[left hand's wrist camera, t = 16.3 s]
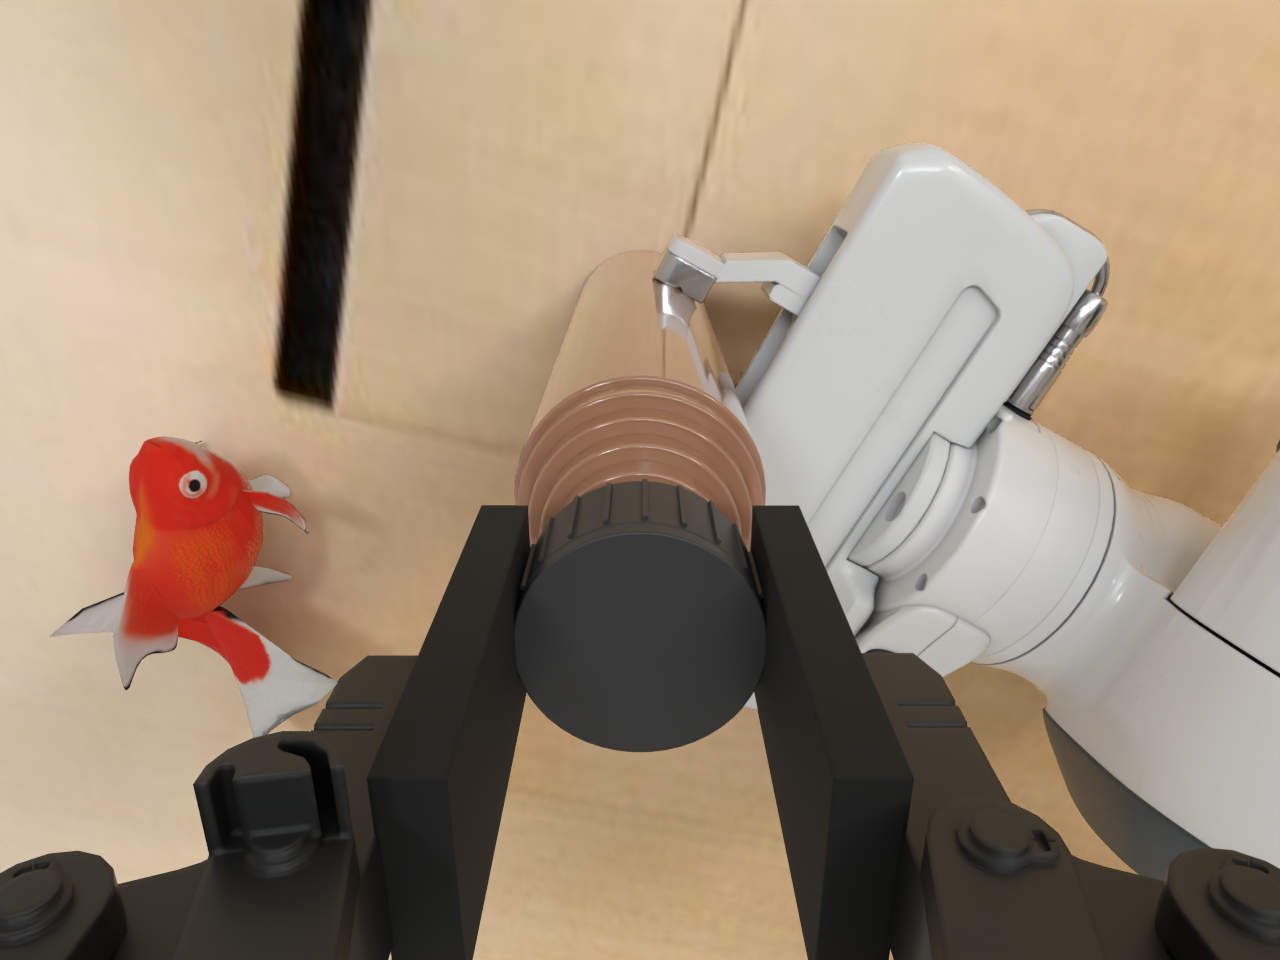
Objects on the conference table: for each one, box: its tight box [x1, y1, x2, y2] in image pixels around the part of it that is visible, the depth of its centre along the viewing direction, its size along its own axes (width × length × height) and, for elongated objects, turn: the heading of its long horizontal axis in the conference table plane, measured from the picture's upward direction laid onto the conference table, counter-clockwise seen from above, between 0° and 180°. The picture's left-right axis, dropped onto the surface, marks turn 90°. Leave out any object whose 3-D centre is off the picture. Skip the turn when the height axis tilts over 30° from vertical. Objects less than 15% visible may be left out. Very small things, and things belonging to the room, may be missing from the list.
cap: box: [514, 479, 766, 752], centre depth 14 cm, size 4×4×2 cm
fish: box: [50, 437, 338, 737], centre depth 37 cm, size 11×16×10 cm
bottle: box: [514, 251, 766, 552], centre depth 25 cm, size 5×5×25 cm
